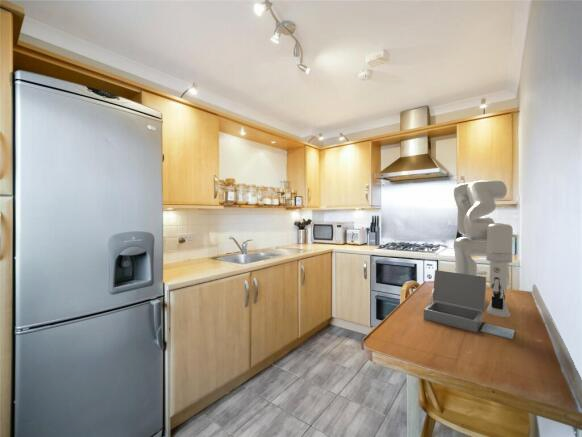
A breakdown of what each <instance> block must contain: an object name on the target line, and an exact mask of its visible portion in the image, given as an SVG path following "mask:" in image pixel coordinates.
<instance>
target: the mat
mask: <svg viewBox="0 0 582 437" xmlns="http://www.w3.org/2000/svg"><path fill="white" fill-rule="evenodd" d="M515 331H516V330H515V329H510V328H507V327H502V326H498V325H494V324H490V323H484V324H483V325H482V327H481V329H480V332H483V333H487V334H490V335H494V336H498V337H501V338H506V339H508V340H513V339H514V335H515V333H516V332H515Z"/></svg>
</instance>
